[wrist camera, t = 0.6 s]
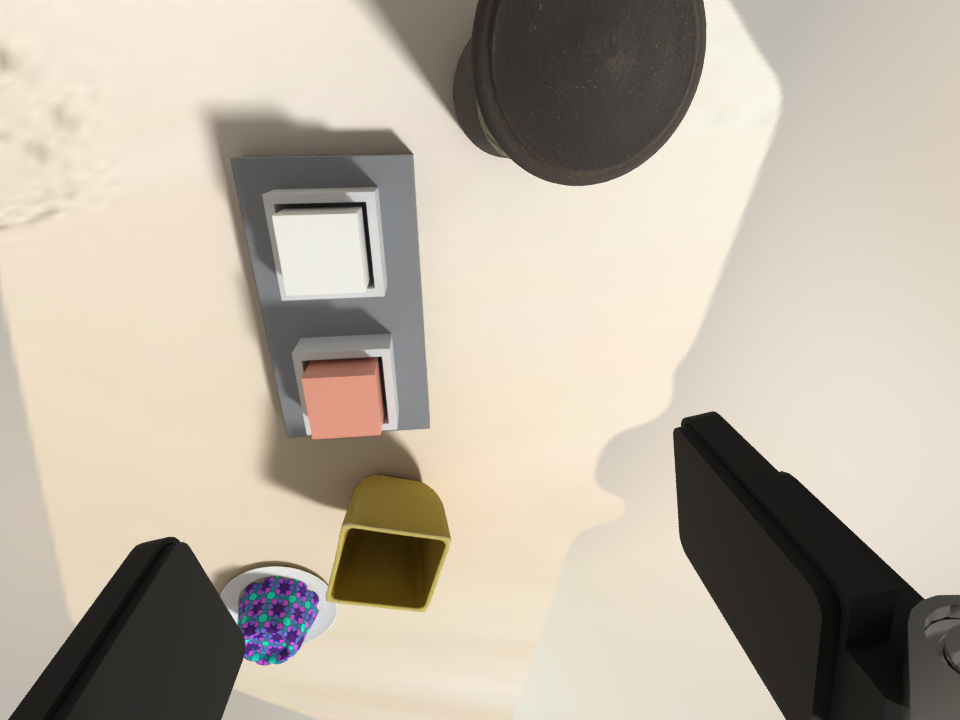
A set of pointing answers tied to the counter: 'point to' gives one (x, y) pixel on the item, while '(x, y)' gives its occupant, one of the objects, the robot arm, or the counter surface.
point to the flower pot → (390, 546)
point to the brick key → (343, 398)
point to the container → (579, 82)
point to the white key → (322, 250)
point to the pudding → (278, 612)
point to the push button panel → (349, 316)
